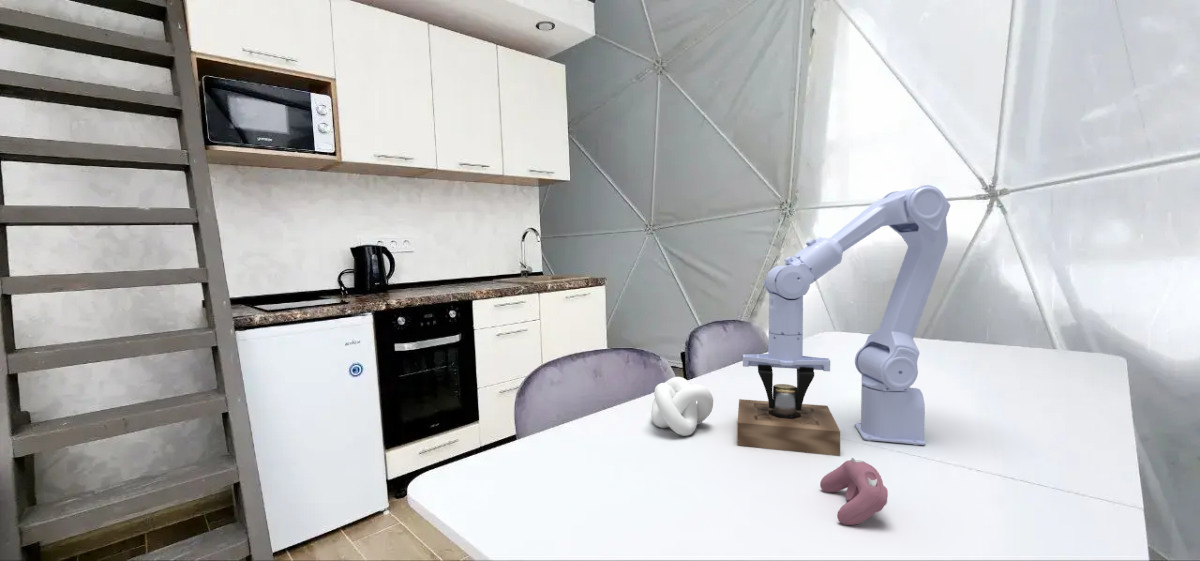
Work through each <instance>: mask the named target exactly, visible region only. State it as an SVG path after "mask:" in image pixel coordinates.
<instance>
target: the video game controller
mask: <svg viewBox="0 0 1200 561" xmlns="http://www.w3.org/2000/svg"><path fill="white" fill-rule="evenodd" d="M881 476H882V475H880V472H879V471H878V470H877V469H876V468H875V467H874V466H873V465H871V464H869V463H867V462H865V461H863V460H862V459H858V460H856V459H855V458H854V457H851V459H850V460H845V461H844V462H843V463H842V464H841V465H840V466H838V467H836V469H833V470H832V471H830V472H828V473H827V474H825V475H824V476H823V477H822V478H821V480H820V484H819V487H820V489H821V490H822V491H823V492H825V493H836V492H840V491H842V490H845V489H846V491H845V499H846V500H847V502H846V503H845V504H843V505H842V506H841V507H840V508H839V510H838V511H837V515H836V516H837V521H838V522H839V523H840V524H842V525H845V526H855V525H858V524H862V523H863V522H865V521H867V520H868V519H870V518H871V517H873V516H874V515H875V514H876V513H879V512H881V511H882V510H883V509H884V507H886V505H887V504H888V495H889V492H888V488H887V487H886V486H885V485H884V482H883V479H882V477H881Z"/></svg>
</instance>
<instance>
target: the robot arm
mask: <svg viewBox="0 0 1200 561" xmlns="http://www.w3.org/2000/svg"><path fill="white" fill-rule="evenodd" d="M950 208H951V204H950V202H949V201H948V199H947V198H946V197H945V195H944V193H943V192H942V191H941V190H940V189H939V188H938V187H936V186H934V185H930V184H923V185H919V186H917V187H915V188H914V187H913V188H909V189H905V190H898V191H891V192H889V193H887V194H885V195H884V196H883V197H882V198H879V199H877V200H876V201H874V202H872V203H871V204H870V205H869V206H868V207H866V209H865V210H863V211H862V212H860V213H859V214H858V215H856V217H854V218H853V219H851V220H850V221H849V222H848V223H846V225H844V226H843V227H842V228H841V229H839V230H838V231H837V232H835V233H834V234H833V235H832V236H831V237H829V238H828V237H821V236H820V237H817V238H810V239H808V240H807V241H806V242H805V244H806V246H805V247H804V248H802V249H801V250H800V251H798V252H797V253H795V254H794V255H793V256H787V257H786V258H785V259H784V261H785V263H784V265H783V264H781V265H776V266H773V267H772V268H771V269H770V270H769V271H768V272H767V275H766V276H765V277H766V278H765V280H763V285H764V289H765V290H766V292H767V293H768V297H769V298H768V303H769V304H768V348H767V349H768V351H767V352H768V353H760V354H759V353H756V354H755V353H754V354H752V353H751V354H750V353H747V354H745V353H744V354H743V353H742V367H745V368H746V367H747V368H748V367H757V372H758V375H759V377H760V379H761V381H762V383H763V384H762V385H763V387H764V390H765V393H766V395H767V400H768V402H769V408H772V409H773V386H774V384H773V377H774V373H773V368H775V369H776V368H779V369H793V370H794V369H796V387H797V411H801V407H802V404H804V403H803V402H804V398H805V396H806V393H807V391H808V388H809V387H810V385H811V383H812V382H813V380H814V377H815V371H823V372H831V360H830V359H829V357H827V358H826V357H816V356H810V355H809V356H807V355H804V354H803V345H804V344H803V343H804V342H803V341H804V340H803V339H804V338H803V336H804V332H803V329H804V296H805V295H807V294H808V292H809V290H810V287H811V284H814V283H815V282H816V281H817V280H819V279H820V278H821V277H823V276H824V275H826V274H827V273H829V272H830V271H831V270H832V269H835V267H837V266H838V265H840V264H841V262H842V260H843V254H844V253H845V252H846V251H848V249H850V248H852V247H853V246H855V245H856V244H858V243H859V242H860V241H863V239H865V238H866V237H868V236H870V235H871V234H873V233H875V232H876V231H877V230H879V229H880V228H882V227H887V226H888V227H889V228H891V229H892V230H893V231H894V232H895V233H897V234H898V235H899V236H900V237H901V238H902V239H903V241H904V242H905V244H906V245H907V249H906V253H905V255H904V257H903V261H902V263H901V265H900V268H899V271H898V275H897V277H896V280H895V282H894V285H893V287H892V290H891V294H890V296H889V299H888V302H887V305H886V307H885V310H884V313H883V316H882V318H881V322H880V324H879V328H878V329H876V330H875V331H873V332H872V333H871V334H869V335H868V336H867V339H866V341H865V344H864V345H863V346H862V347H860V348H859V350H858V351H857V353H856V354H855V357H854V365H855V368H856V370H857V372H858V373H859V374H860V375H861V392H860V394H861V397H860V398H861V399H860V400H861V401H860V403H861V404H860V422H854V426H855V428H856V429H857V431H858V433H859V435H860V436H861V438H862V439H863V440H865V441H875V442H885V443H896V444H910V445H920V446H925V445H926V441H925V422H926V421H925V417H926V410H925V408H926V406H925V399H924V395H923V392H922V390H921V389H920V388H917V387H911V386H912V385H914V384H915V382H916V380H917V378H918V373H919V368H918V359H919V356H920V350H919V348H918V346H917V344H916V342H915V340H914V336H915V334H916V332H917V329H918V326H919V323H920V321H921V318H922V316H923V312H924V309H925V307H926V304H927V302H928V299H929V296H930V293H931V290H932V288H933V285H934V282H935V280H936V277H937V274H938V271H939V269H940V265H941V262H942V260H943V257H944V254H945V252H946V249H947V247H948V242H949V240H948V239H949V237H948V230H947V228H948V226H947V216H948V215H949V214H948V213H949V211H950Z"/></svg>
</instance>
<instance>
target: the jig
mask: <svg viewBox="0 0 1200 561" xmlns="http://www.w3.org/2000/svg"><path fill="white" fill-rule="evenodd" d="M737 409H738V411H737V436H736V437H737V438H736V439H737V440H736V446H739V447H749V448H759V449H770V450H776V451H790V452H799V453H808V454H819V455H827V456H838V457H840V456H841V430H840V428H839V426H838V424H837V421H836V420H835V418H834V416H833V414H832V412H831V410H830V408H829V405H823V404H810V403H808V404H807V403H802V407H801V411H797V418H795V419H785V418H778V417H775V416H773V409H772V408H769V402H768V401H766V400H755V399H741V398H739V399H738V408H737Z"/></svg>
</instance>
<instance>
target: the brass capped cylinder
mask: <svg viewBox="0 0 1200 561" xmlns="http://www.w3.org/2000/svg"><path fill="white" fill-rule="evenodd" d="M772 393H773V416H775V417H778V418H785V419H795V418H797V386H796V385H791V384H787V383H777V384H773V386H772Z"/></svg>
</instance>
